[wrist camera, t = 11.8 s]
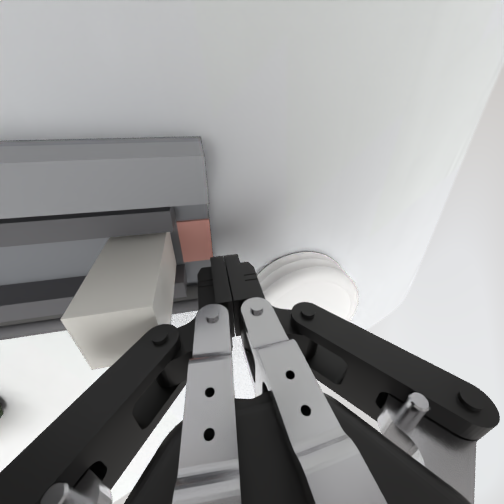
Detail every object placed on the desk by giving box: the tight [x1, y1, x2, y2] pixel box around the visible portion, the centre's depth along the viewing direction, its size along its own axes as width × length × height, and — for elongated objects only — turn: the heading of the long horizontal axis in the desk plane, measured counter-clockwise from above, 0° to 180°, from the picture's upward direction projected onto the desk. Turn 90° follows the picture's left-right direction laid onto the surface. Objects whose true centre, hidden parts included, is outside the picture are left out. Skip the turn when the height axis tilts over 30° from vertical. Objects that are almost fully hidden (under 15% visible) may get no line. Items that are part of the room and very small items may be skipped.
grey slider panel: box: [0, 137, 213, 340], centre depth 13 cm, size 12×20×6 cm, turn 90°
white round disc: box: [257, 252, 359, 322], centre depth 22 cm, size 10×10×4 cm
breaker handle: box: [60, 232, 176, 370], centre depth 12 cm, size 3×3×7 cm
